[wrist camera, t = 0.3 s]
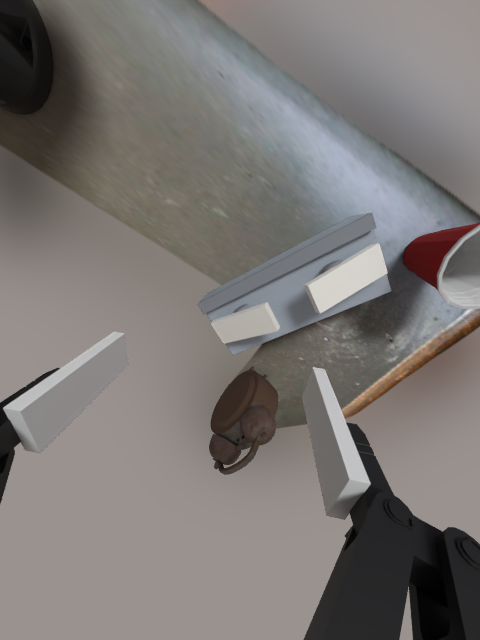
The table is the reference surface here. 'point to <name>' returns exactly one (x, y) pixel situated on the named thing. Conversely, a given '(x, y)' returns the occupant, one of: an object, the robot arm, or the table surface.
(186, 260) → the table surface
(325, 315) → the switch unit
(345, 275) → the rocker right
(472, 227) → the plastic cup
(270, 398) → the alarm clock
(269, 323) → the rocker left
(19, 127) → the table surface
